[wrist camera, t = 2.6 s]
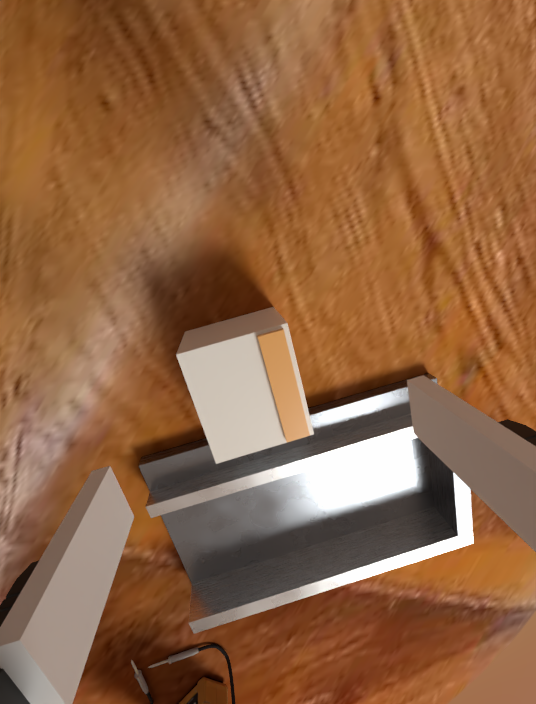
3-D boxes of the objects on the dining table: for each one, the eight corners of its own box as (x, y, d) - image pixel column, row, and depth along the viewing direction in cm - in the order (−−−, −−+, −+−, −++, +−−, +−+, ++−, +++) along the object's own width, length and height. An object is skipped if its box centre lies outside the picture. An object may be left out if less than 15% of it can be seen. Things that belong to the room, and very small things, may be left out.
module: (185, 331, 22) (175, 356, 17) (273, 306, 23) (288, 324, 18) (216, 421, 25) (216, 467, 20) (296, 397, 25) (315, 436, 20)
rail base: (141, 457, 24) (127, 496, 21) (428, 373, 26) (465, 395, 22) (204, 598, 29) (202, 651, 25) (442, 522, 30) (474, 562, 27)
